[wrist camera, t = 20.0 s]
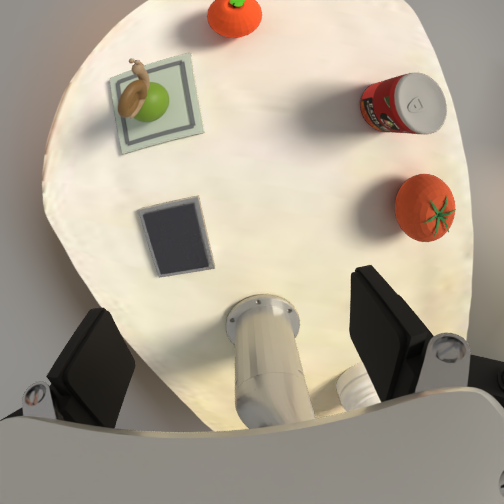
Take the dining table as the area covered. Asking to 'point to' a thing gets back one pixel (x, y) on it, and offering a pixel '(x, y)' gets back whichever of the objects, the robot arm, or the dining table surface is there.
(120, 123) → the board
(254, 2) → the clementine
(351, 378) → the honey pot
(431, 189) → the tomato
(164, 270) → the ink pad
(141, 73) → the snail figurine
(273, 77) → the dining table surface
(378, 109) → the canned food
